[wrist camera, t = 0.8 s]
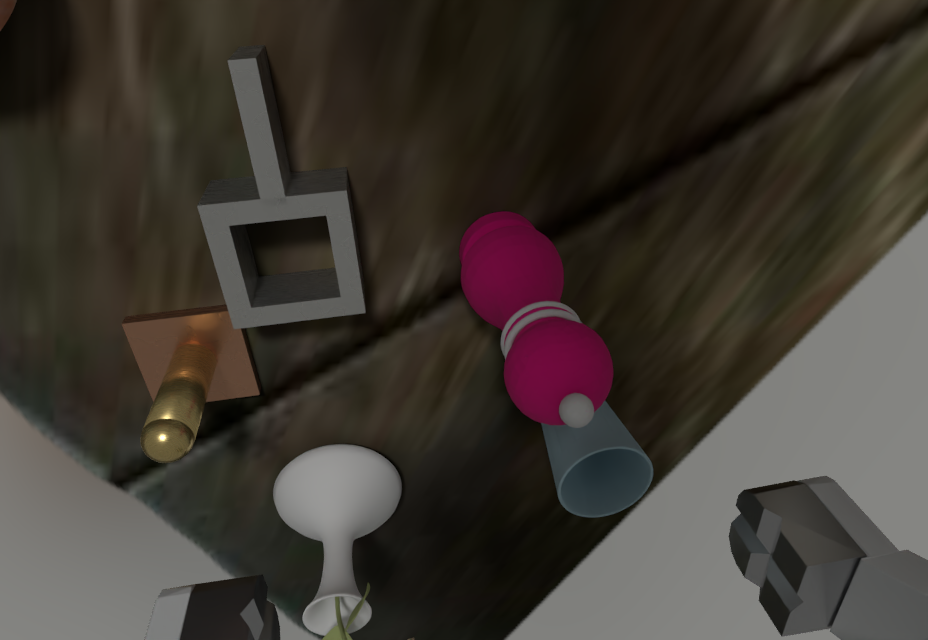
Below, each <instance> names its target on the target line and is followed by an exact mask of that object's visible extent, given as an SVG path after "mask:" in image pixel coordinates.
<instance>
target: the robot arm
mask: <svg viewBox="0 0 928 640" xmlns="http://www.w3.org/2000/svg"><path fill="white" fill-rule="evenodd" d="M736 506H737V508H738V509H739V511H740V512H741V514H740V515H739V516H738V517H737V518H736V519H735V520H734V521H733V522H732V523H731V528H730V533H729V540H730V546H731V552H732V554H733V557H734V559H735V562H736V564H737V566H738V567H739V569H740V571H741V572H742V574H743V576H744V577H745V578H746V579H748V580H750V581H751V582H753V583H754V584H756V585H758V586H759V587H760V595H759V601H760V603H761V605H762V606H763V607H764V609H765V611H766V612H767V614H768V616H769V617H770V619H771V620H772V622H773V623H774V625H775V627H776V628H777V630H778V631H779V633H780V635H781V636H788V635H794V634H800V633H806V632H812V631H817V630H823V629H829V628H831V630H830V632H832V633H833V634H834V635H836V636H837V637H838V638H840V639H841V640H928V560H926V559H924V558H922V557H920V556H918V555H916V554H915V553H912V552H911V551H909V550H903V551H899V550H898V549H897V548H896V547H895V546H894V545H893V544H892V543H891V542H890V541H889V539H888V538H887V537H886V536H885V535H884V534H883V533H882V532H881V531H880V530H879V529H878V528H877V526H876V525H875V524H874V523H873V522H872V521H871V520H870V519H869V518H868V516H867V515H866V514H865V513H864V512H863V511H862V510H861V509H860V508H859V507H858V505H857V504H856V503H855V502H854V501H853V500H852V499H851V498H850V497H849V496H848V495H847V494H846V492H845V491H844V490H843V489H842V488H841V487H840V486H839V485H838V484H837V483H836V482H835V481H834V480H833V479H831V478H829V477H827V476H822V477H816V478H810V479H805V480H799V481H789V482H784V483H779V484H774V485H768V486H763V487H757V488H752V489H747V490H743V491H742V492H741V493H740V494H739V495H738V499H737V503H736ZM267 591H268V586H267V584H266V581H265V579H264V576H263V574H262V575H255V576H249V577H242V578H235V579H229V580H221V581H214V582H208V583H201V584H194V585H188V586H182V587H176V588H170V589H164V590H162V592H161V593H160V595H159V596H158V598H157V600H156V601H155V605H154V608H153V612H152V615H151V619H150V622H149V625H148V629H147V633H146V636H145V639H144V640H280V626H279V621H278V615H277V611H276V608H275V605H274V604H273V603H271V602H269V601H267Z"/></svg>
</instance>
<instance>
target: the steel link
mask: <svg viewBox="0 0 928 640" xmlns="http://www.w3.org/2000/svg"><path fill="white" fill-rule="evenodd" d="M228 64H229V68H230V73H231V77H232V81H233V85H234V90H235V94H236V98H237V102H238V106H239V111H240V115H241V119H242V123H243V128H244V132H245V136H246V140H247V145H248V149H249V153H250V157H251V162H252V166H253V170H254V174H255V176H252V177H242V178H231V179H221V180H211V181H210V183H209V184H208V186H207V188H206V190H205V192H204V194H203V196H202V198H201V200H200V202H199V203H198V205H197V207H198V210H199V213H200V217H201V220H202V223H203V227H204V230H205V234H206V237H207V240H208V244H209V247H210V251H211V254H212V257H213V261H214V264H215V267H216V271H217V274H218V278H219V281H220V284H221V288H222V291H223V295H224V298H225V301H226V305H227V308H228V311H229V315H230V318H231V322H232V325H233V328H234V329H241V328H249V327H257V326H265V325H273V324H281V323H289V322H297V321H305V320H313V319H321V318H329V317H337V316H345V315H353V314H361V313H366V308H365V290H364V279H363V272H362V266H361V259H360V253H359V246H358V239H357V233H356V226H355V220H354V213H353V207H352V200H351V194H350V187H349V181H348V174H347V168H346V167H343V168H333V169H323V170H313V171H302V172H292V173H291V172H290V167H289V162H288V158H287V153H286V148H285V143H284V138H283V133H282V128H281V123H280V118H279V113H278V108H277V104H276V99H275V94H274V89H273V84H272V79H271V74H270V69H269V64H268V59H267V54H266V50H265V45H259V46H246V47H239V48H238V49H237V50H236V51H235V52H234V54H233V55H232V56H231V57H230V58H229V59H228ZM317 216H326V217H327V222H328V228H329V234H330V239H331V245H332V250H333V256H334V262H335V267H336V268H330V269H321V270H312V271H304V272H295V273H286V274H278V275H269V276H260V277H259V275H258V272H257V268H256V264H255V260H254V256H253V252H252V248H251V244H250V240H249V236H248V232H247V229H246V225H245V224H251V223H260V222H270V221H279V220H289V219H298V218H307V217H317Z"/></svg>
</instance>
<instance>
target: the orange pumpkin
mask: <svg viewBox="0 0 928 640" xmlns="http://www.w3.org/2000/svg"><path fill="white" fill-rule="evenodd" d="M16 2H17V0H0V31H1V30H2V28H3V27H4V25H5V24H6V22H7V20H8V19H9V17H10V15H11V14H12V11H13V9H14V7H15V4H16Z"/></svg>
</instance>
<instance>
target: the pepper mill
mask: <svg viewBox="0 0 928 640" xmlns="http://www.w3.org/2000/svg"><path fill="white" fill-rule="evenodd" d="M459 257H460V262H461V265H462V269H461V284H462V289H463V292H464V294H465V296H466V298H467V300H468V302H469V304H470V305H471V307H472V308H473V309H474V311H475V312H476V313H477V314H478V315H479V316H481V317H482V318H483V319H484V320H485V321H486V322H488V323H490V324H492V325H494V326H496V327H497V328H499V329H501V330H502V335H501V349H502V353H503V355H504V357H505V365H504V380H505V385H506V388H507V391H508V393H509V395H510V397H511V399H512V401H513V402H514V404H515V405H516V406H517V408H518V409H519V410H520V411H521V412H522V413H523V414H525V415H526V416H528V417H529V418H531V419H532V420H534V421H537V422H540V423H544V424H548V425H568V426H570V427H573V428H581V427H584V426H586V425H587V424H588V423H589V422H590V421H591V420H592V418H593V416H594V412H595V411H596V410H597V409H598V408H599V407H600V406H601V405H602V404H603V402H604V401H605V399H606V398H607V396H608V394H609V392H610V389H611V386H612V380H613V362H612V359H611V355H610V352H609V350H608V348H607V347H606V345H605V343H604V342H603V340H602V338H601V337H600V336H599V335H598V334H597V333H596V332H595V331H594V330H593V329H591V328H589V327H588V326H586V325H584V324H582V322H581V321H580V319H579V317H578V315H577V314H576V313H575V311H574V310H572V309H571V308H570V307H568V306H567V305H565V304H562V303H561V302H560V299H561V295H562V291H563V285H564V270H563V265H562V261H561V258H560V256H559V254H558V252H557V249H556V247H555V246H554V245H553V243H552V242H551V241H550V240H549V239H548V238H547V237H546V236H545V235H544V234H542V233H540V232H539V231H537V230H536V229H535V227H534V226H533V225H532V223H531V222H530V221H528V220H527V219H526V218H525V217H523V216H521V215H519V214H517V213H513V212H505V211H502V212H494V213H491V214H487V215H485V216H483V217H481V218H479V219H478V220H477V221H475V222H474V223H473V224H472V225H471V226H470V227H469V228H468V229H467V231H466V232H465V234H464V236H463V238H462V240H461V243H460V249H459Z"/></svg>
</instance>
